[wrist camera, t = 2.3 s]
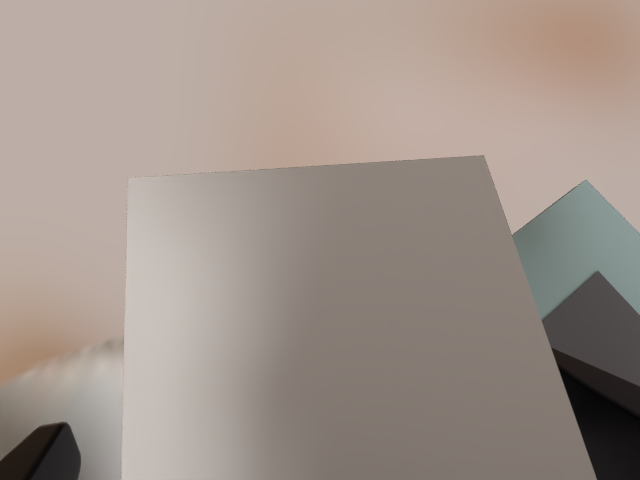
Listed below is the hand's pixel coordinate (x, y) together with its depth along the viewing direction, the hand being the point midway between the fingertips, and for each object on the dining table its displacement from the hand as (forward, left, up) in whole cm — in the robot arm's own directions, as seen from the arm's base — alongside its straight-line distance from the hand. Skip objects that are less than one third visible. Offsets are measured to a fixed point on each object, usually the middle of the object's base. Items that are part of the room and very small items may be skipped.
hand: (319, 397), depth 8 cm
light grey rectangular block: (0, 0, -8) cm, 8 cm away
